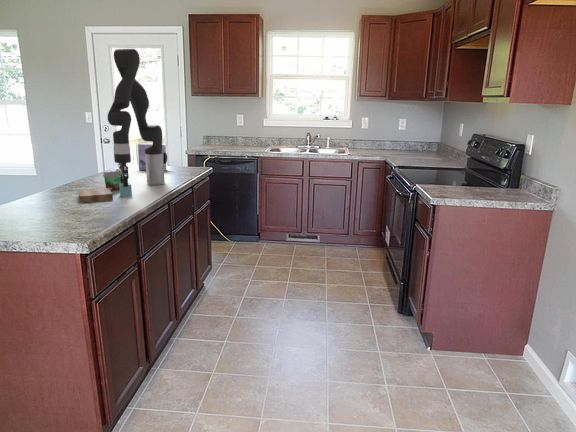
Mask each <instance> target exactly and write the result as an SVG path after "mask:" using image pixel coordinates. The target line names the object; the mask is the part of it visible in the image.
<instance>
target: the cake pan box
mask: <svg viewBox="0 0 576 432" xmlns="http://www.w3.org/2000/svg"><path fill="white" fill-rule="evenodd" d="M152 145H153V143H138V144H137V157H138V170H140V171H141V170H142V171H146V161H145V149H146V148H149V147H151V146H152ZM166 148H167V145H166V144H162V163H163V167H164V170H165V171H167V163H168V162H167V161H168V154H167V152H166V151H167V149H166Z"/></svg>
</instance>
